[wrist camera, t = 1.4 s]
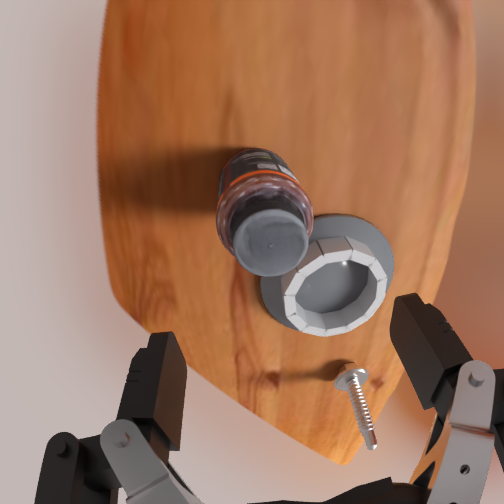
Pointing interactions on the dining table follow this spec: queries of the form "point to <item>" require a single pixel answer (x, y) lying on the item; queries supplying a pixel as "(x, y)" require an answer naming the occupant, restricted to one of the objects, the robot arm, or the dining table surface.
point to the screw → (357, 398)
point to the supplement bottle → (263, 213)
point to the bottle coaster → (333, 278)
